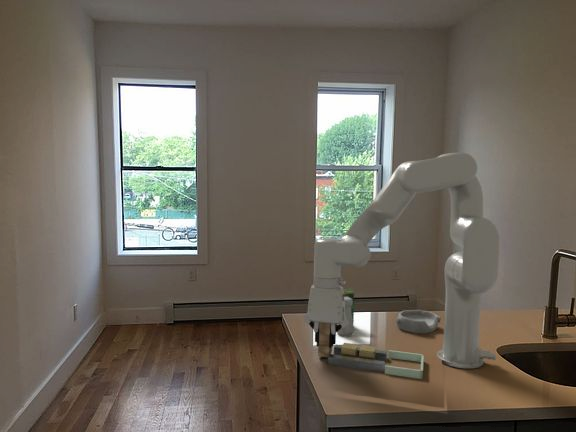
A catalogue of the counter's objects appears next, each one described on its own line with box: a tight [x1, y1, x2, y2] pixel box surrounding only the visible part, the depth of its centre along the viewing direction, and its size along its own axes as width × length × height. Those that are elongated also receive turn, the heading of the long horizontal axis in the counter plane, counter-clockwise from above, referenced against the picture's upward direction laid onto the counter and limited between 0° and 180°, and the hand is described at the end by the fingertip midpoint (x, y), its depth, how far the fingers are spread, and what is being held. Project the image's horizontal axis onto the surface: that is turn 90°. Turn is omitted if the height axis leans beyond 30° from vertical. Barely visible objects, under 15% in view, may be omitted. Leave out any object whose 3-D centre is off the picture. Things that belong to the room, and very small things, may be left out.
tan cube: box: [341, 342, 359, 358], centre depth 133 cm, size 4×4×4 cm
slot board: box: [327, 344, 388, 373], centre depth 132 cm, size 15×10×3 cm, turn 73°
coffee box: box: [343, 288, 355, 324], centre depth 164 cm, size 8×3×13 cm, turn 103°
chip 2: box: [359, 344, 377, 360], centre depth 131 cm, size 4×4×4 cm
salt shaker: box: [336, 297, 355, 337], centre depth 154 cm, size 6×6×13 cm
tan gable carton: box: [317, 322, 333, 358], centre depth 134 cm, size 3×4×10 cm
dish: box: [395, 309, 442, 334], centre depth 165 cm, size 14×14×5 cm
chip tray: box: [384, 349, 425, 380], centre depth 128 cm, size 10×12×3 cm
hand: (325, 344), depth 135 cm, fingers closed on tan gable carton, 3 cm apart
